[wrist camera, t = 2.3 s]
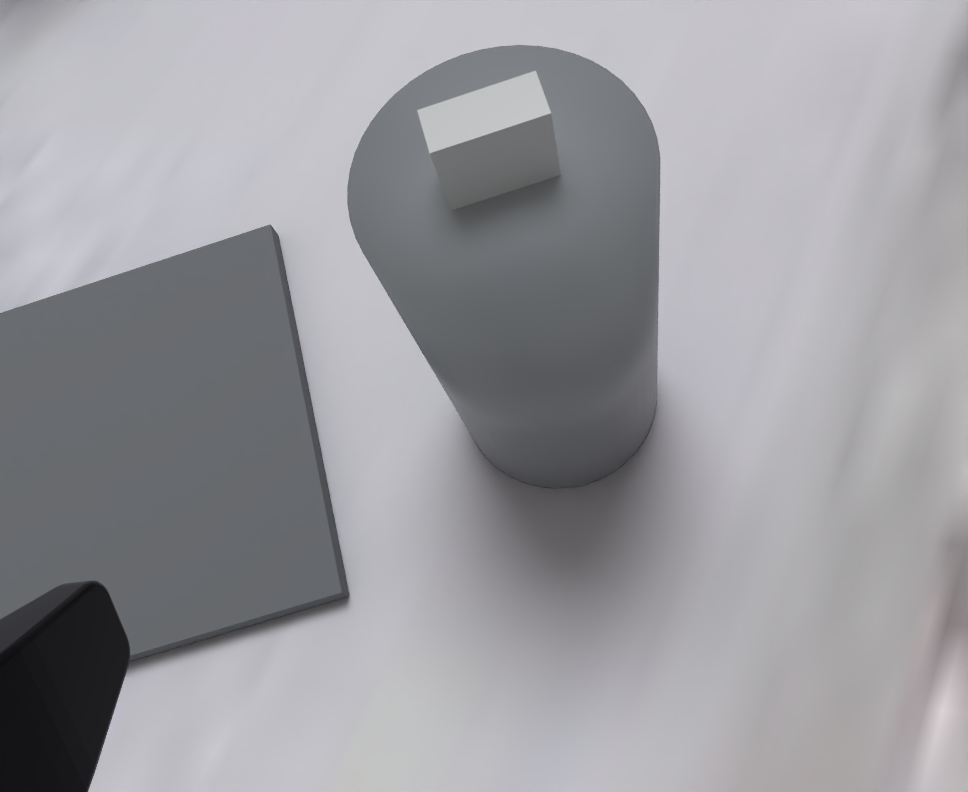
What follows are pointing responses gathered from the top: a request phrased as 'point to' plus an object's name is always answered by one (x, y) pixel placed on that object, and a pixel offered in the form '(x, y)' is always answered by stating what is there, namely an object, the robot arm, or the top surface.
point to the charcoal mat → (166, 448)
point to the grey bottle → (522, 252)
